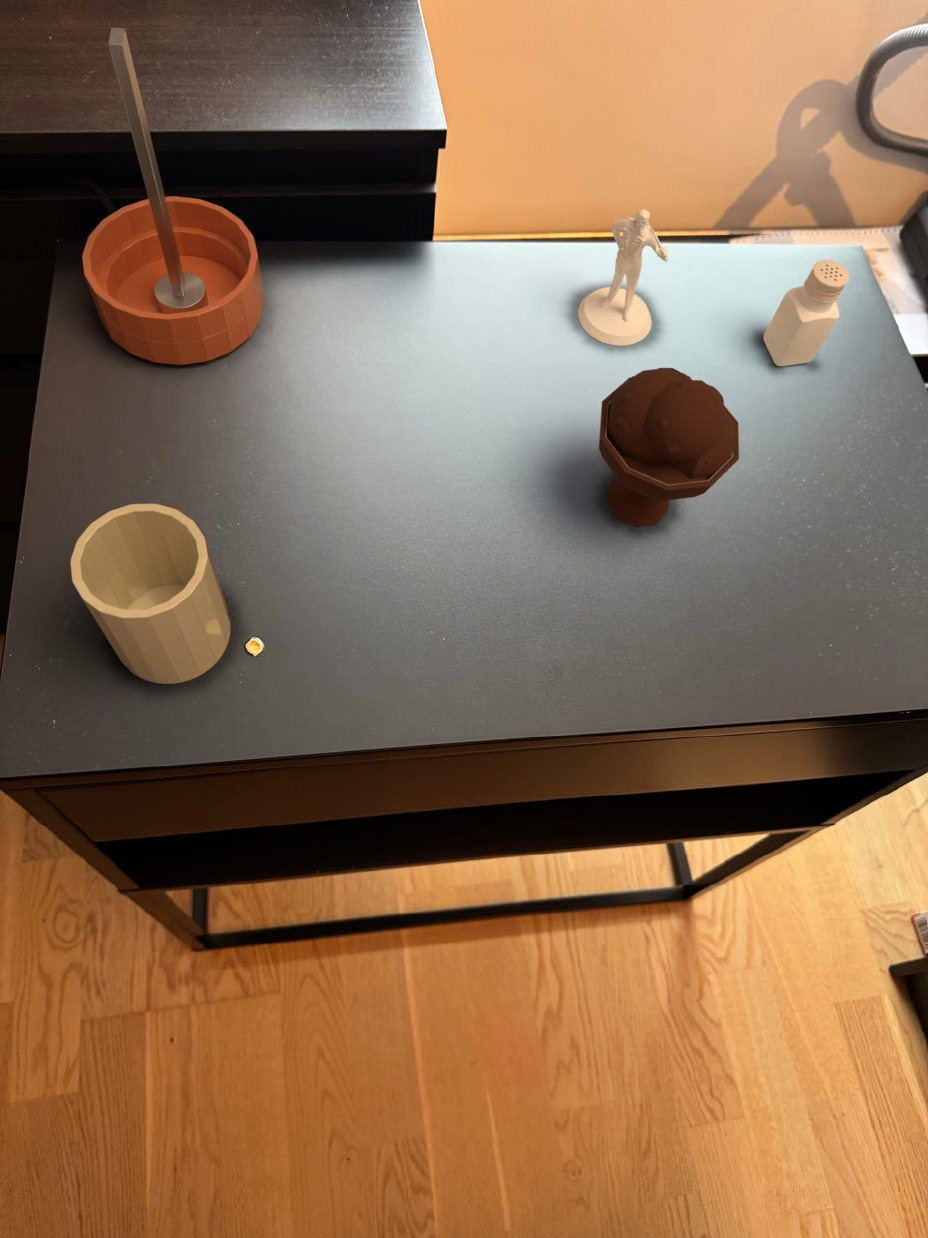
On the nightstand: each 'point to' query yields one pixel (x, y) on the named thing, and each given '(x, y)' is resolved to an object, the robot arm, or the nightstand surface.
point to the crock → (153, 591)
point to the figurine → (617, 309)
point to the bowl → (133, 263)
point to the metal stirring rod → (154, 190)
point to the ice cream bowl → (664, 442)
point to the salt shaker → (806, 315)
